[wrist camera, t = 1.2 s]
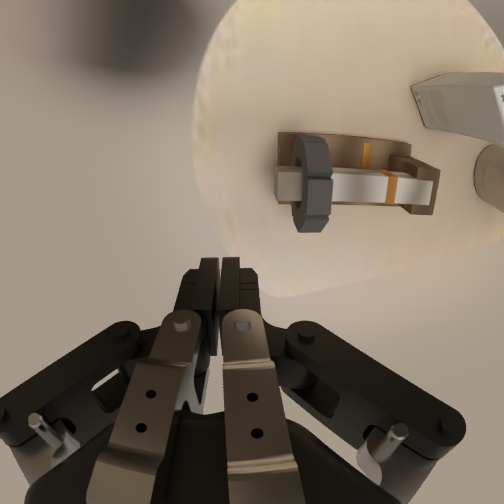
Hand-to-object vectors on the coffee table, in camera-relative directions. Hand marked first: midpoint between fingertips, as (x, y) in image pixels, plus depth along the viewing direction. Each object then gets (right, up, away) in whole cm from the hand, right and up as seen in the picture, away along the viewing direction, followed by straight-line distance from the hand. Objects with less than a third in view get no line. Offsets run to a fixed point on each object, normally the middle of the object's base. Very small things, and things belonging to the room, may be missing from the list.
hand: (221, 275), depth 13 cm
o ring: (+6, +9, +17) cm, 21 cm away
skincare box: (+25, +21, +15) cm, 36 cm away
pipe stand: (+12, +11, +20) cm, 26 cm away
